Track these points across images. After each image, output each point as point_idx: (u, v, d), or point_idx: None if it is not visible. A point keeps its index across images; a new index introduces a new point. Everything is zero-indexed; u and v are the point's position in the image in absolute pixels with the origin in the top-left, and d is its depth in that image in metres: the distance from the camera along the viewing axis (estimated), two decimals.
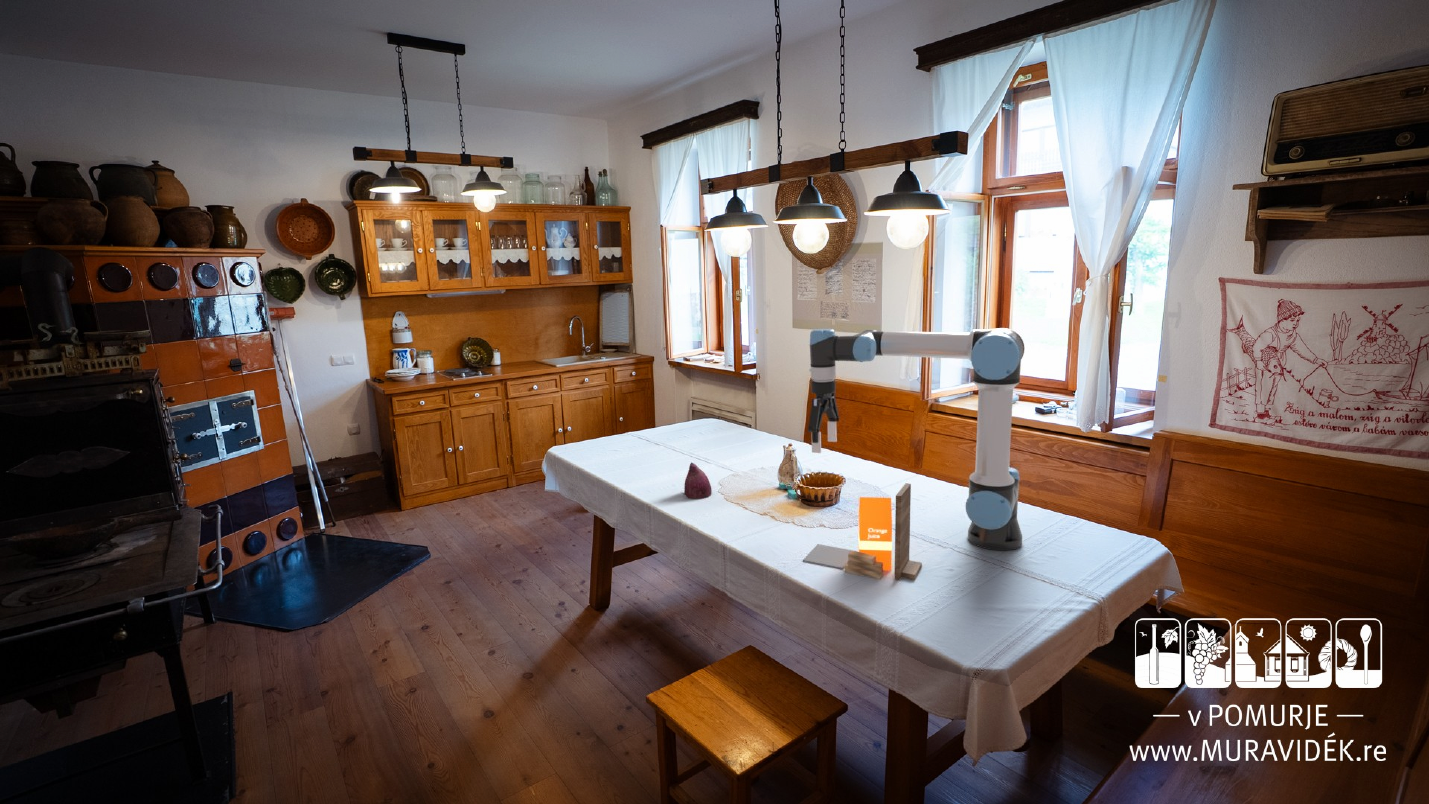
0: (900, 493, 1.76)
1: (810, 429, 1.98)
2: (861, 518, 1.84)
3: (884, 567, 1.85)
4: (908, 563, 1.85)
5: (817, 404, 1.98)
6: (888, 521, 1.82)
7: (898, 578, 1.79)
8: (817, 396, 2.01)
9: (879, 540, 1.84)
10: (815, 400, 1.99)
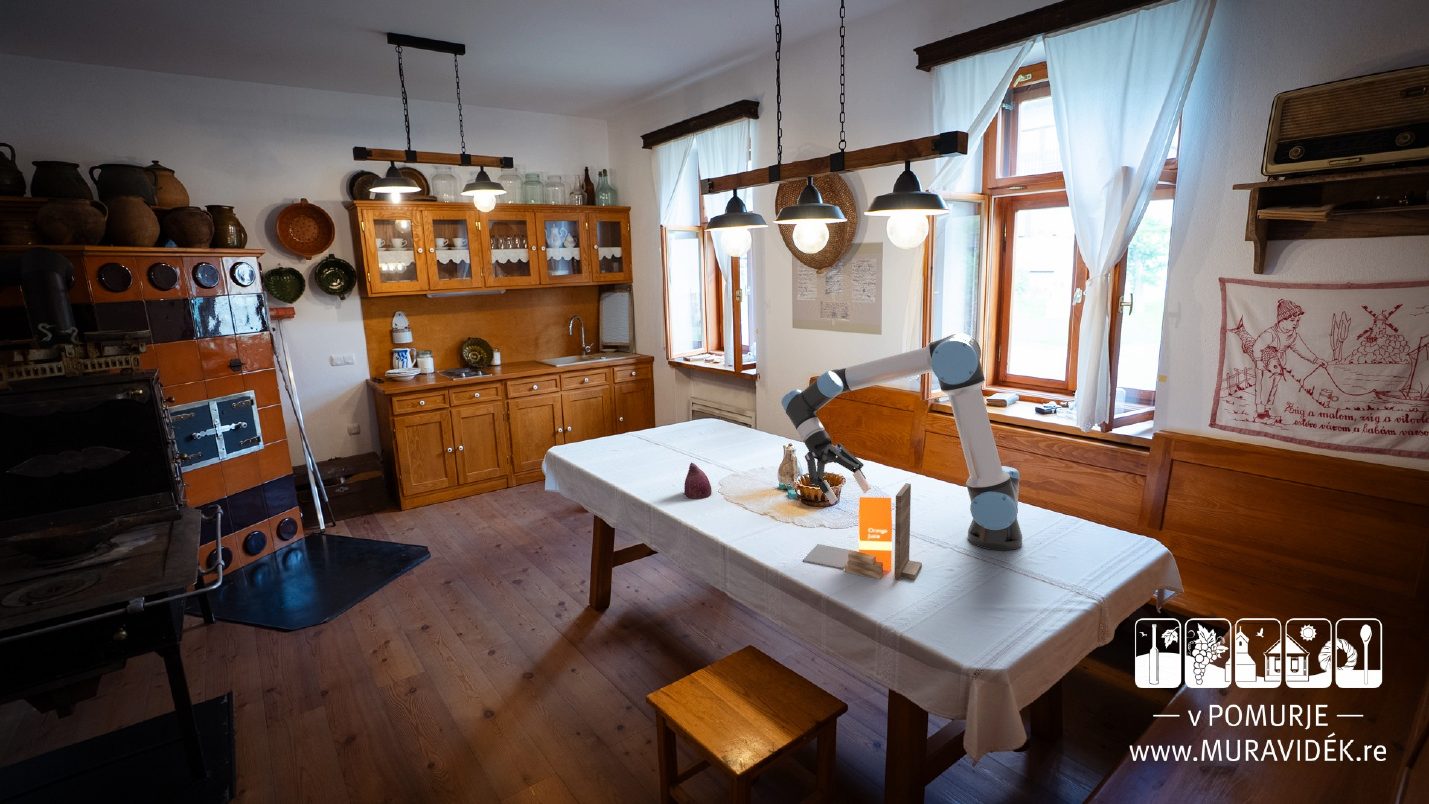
0: (900, 493, 1.76)
1: (811, 481, 1.90)
2: (861, 518, 1.84)
3: (884, 567, 1.85)
4: (908, 563, 1.85)
5: (809, 456, 1.94)
6: (888, 521, 1.82)
7: (898, 578, 1.79)
8: (812, 451, 1.97)
9: (879, 540, 1.84)
10: (806, 454, 1.95)
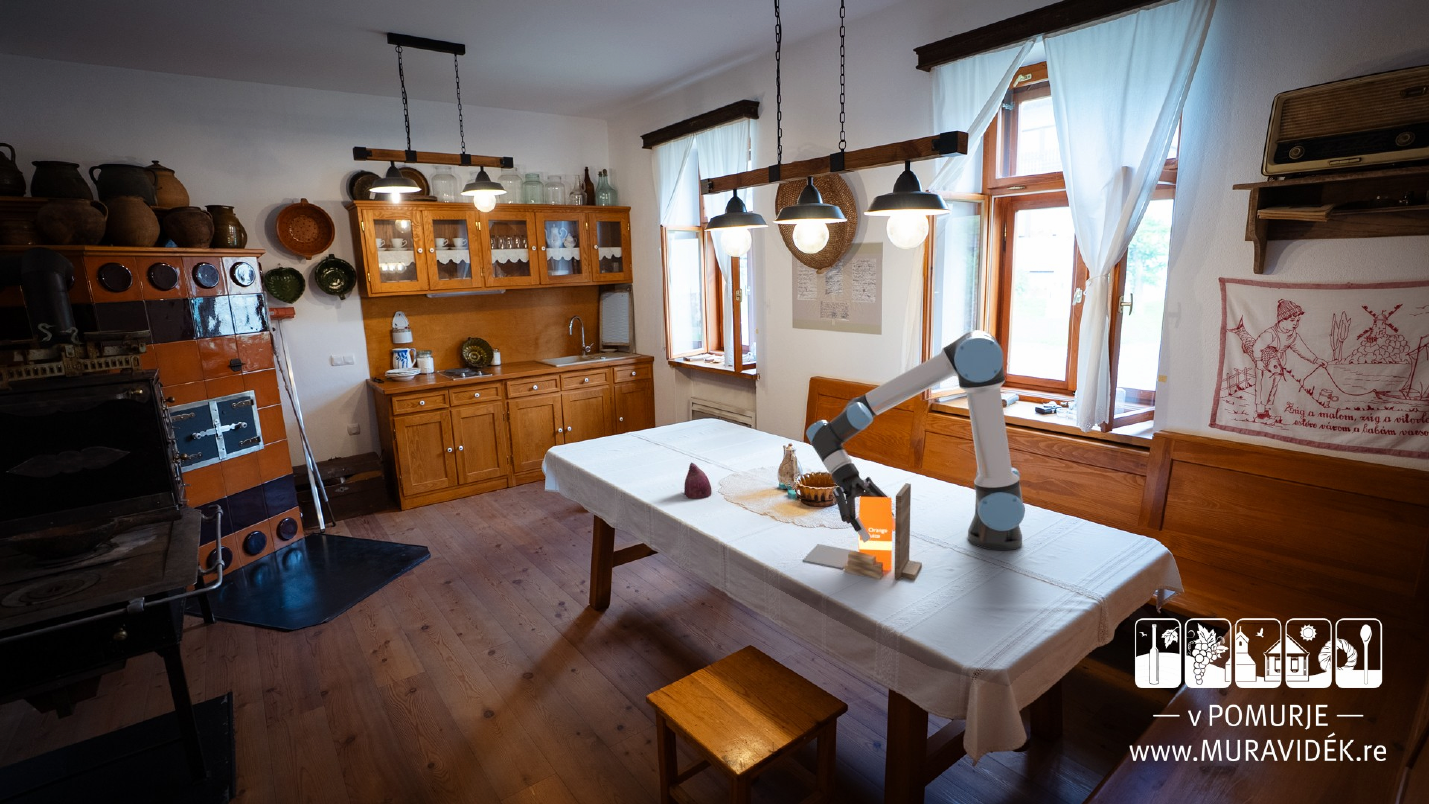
0: (900, 493, 1.76)
1: (843, 519, 1.83)
2: (861, 518, 1.84)
3: (884, 567, 1.85)
4: (908, 563, 1.85)
5: (838, 492, 1.87)
6: (888, 520, 1.82)
7: (898, 578, 1.79)
8: (839, 485, 1.90)
9: (879, 540, 1.84)
10: (834, 490, 1.88)
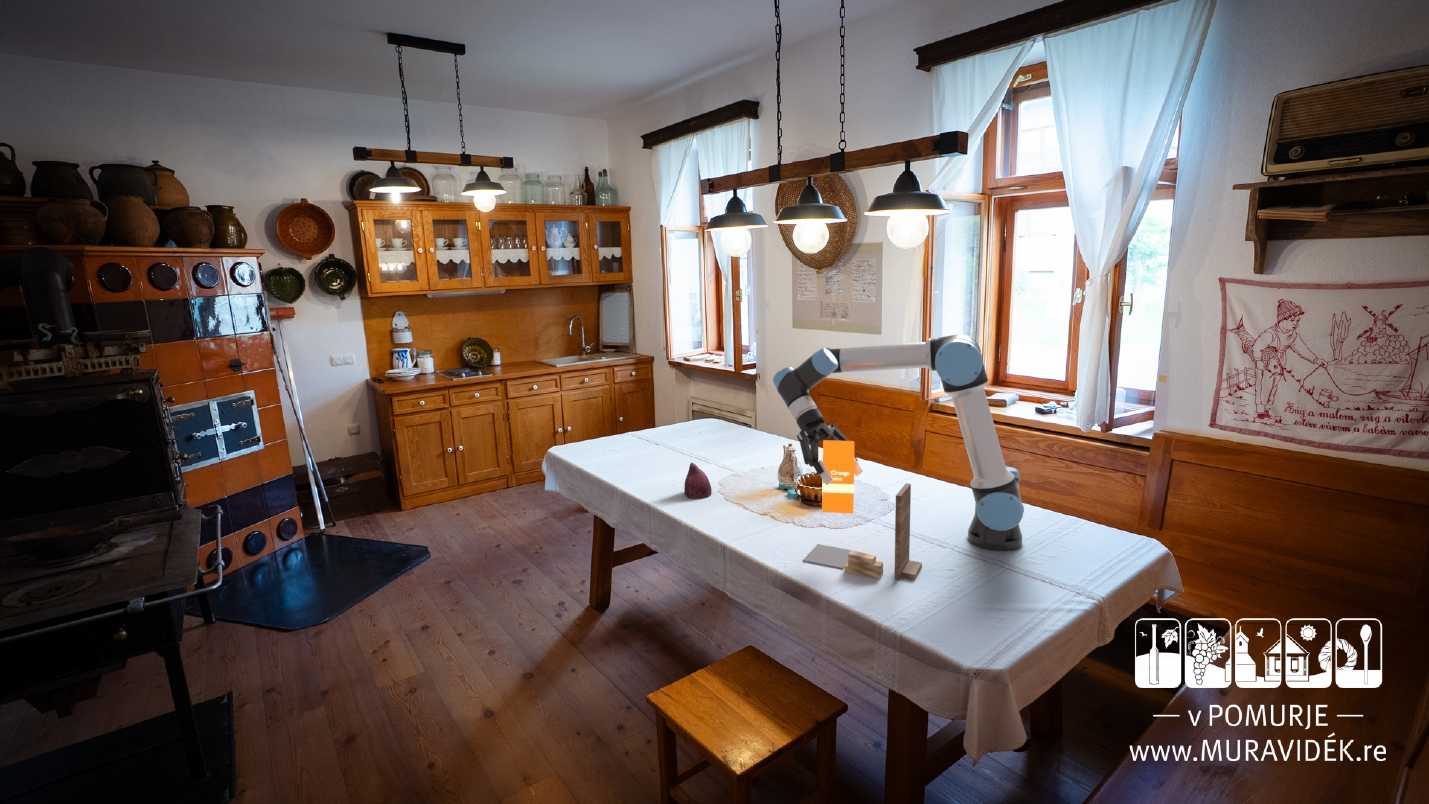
0: (900, 493, 1.76)
1: (806, 461, 1.84)
2: (824, 460, 1.85)
3: (846, 510, 1.86)
4: (908, 563, 1.85)
5: (801, 436, 1.88)
6: (850, 463, 1.83)
7: (898, 578, 1.79)
8: (803, 430, 1.91)
9: (841, 483, 1.85)
10: (798, 434, 1.89)
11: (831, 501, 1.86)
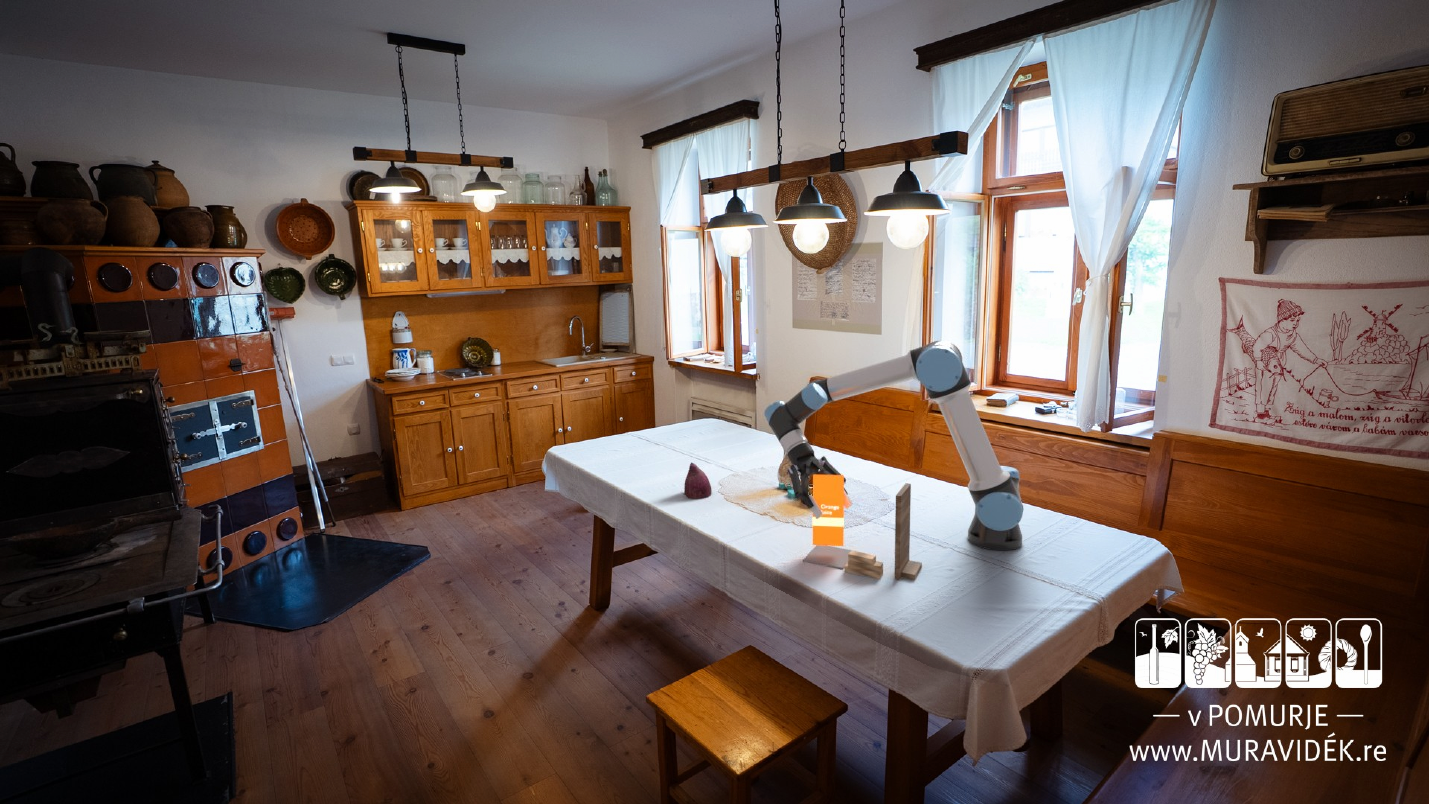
0: (900, 493, 1.76)
1: (796, 496, 1.88)
2: (814, 495, 1.88)
3: (836, 543, 1.90)
4: (908, 563, 1.85)
5: (792, 470, 1.92)
6: (840, 497, 1.87)
7: (898, 578, 1.79)
8: (794, 464, 1.95)
9: (831, 516, 1.88)
10: (789, 468, 1.93)
11: (821, 534, 1.90)
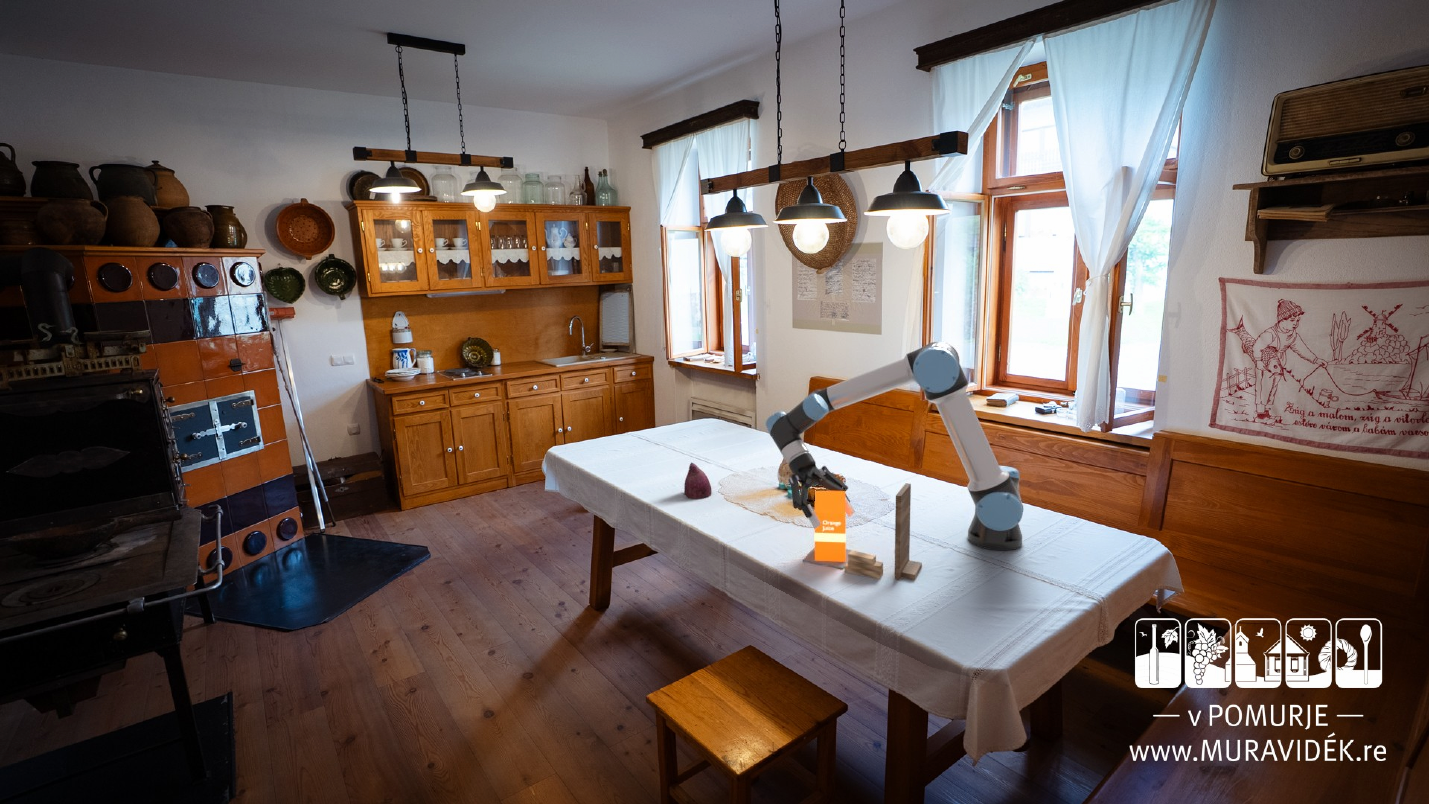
0: (900, 493, 1.76)
1: (794, 505, 1.88)
2: (816, 511, 1.89)
3: (838, 558, 1.90)
4: (908, 563, 1.85)
5: (792, 480, 1.92)
6: (841, 513, 1.88)
7: (898, 578, 1.79)
8: (796, 474, 1.96)
9: (833, 532, 1.89)
10: (790, 478, 1.93)
11: (823, 550, 1.91)
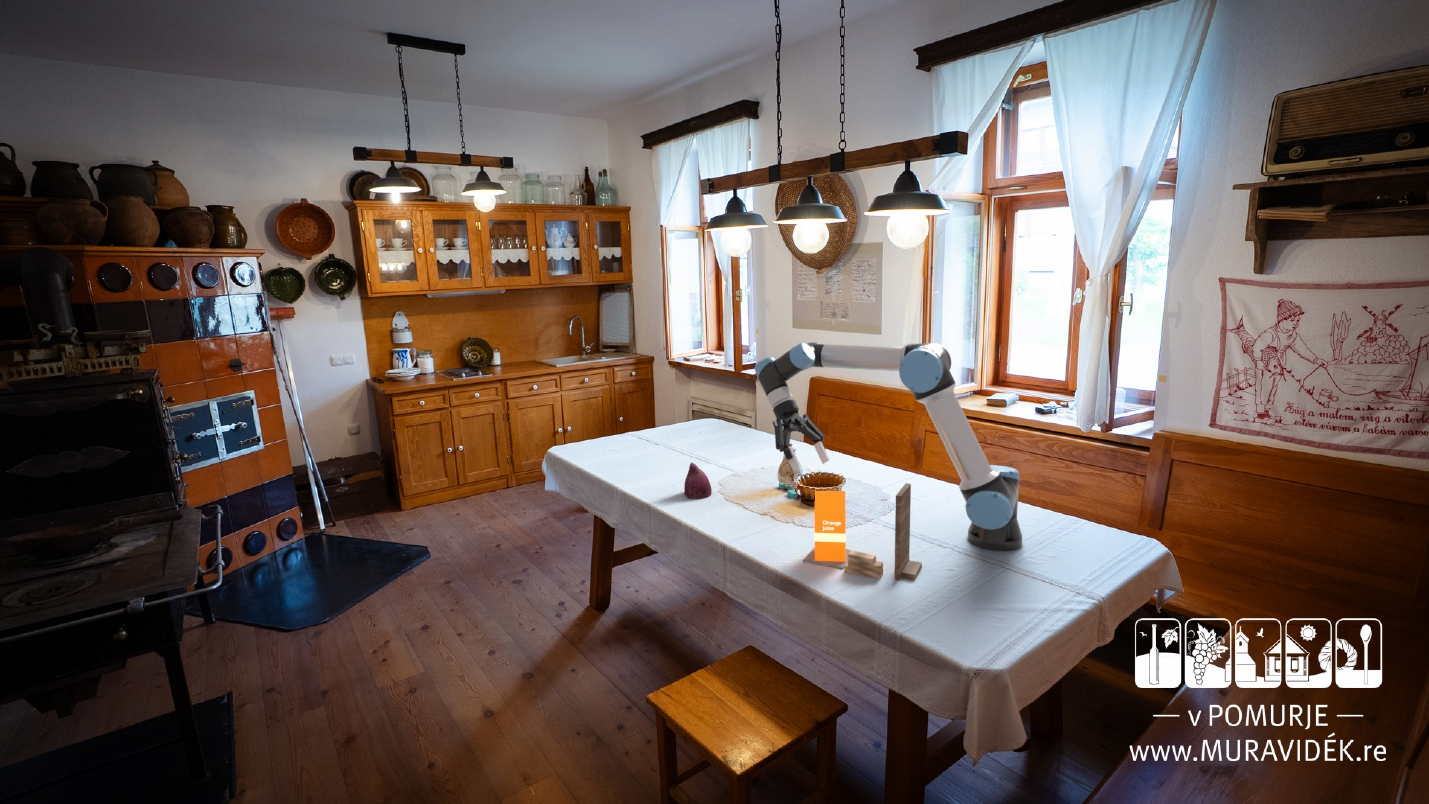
0: (900, 493, 1.76)
1: (777, 446, 1.98)
2: (816, 511, 1.89)
3: (838, 558, 1.90)
4: (908, 563, 1.85)
5: (777, 423, 2.01)
6: (841, 513, 1.88)
7: (898, 578, 1.79)
8: (779, 418, 2.05)
9: (833, 532, 1.89)
10: (775, 420, 2.02)
11: (823, 550, 1.91)
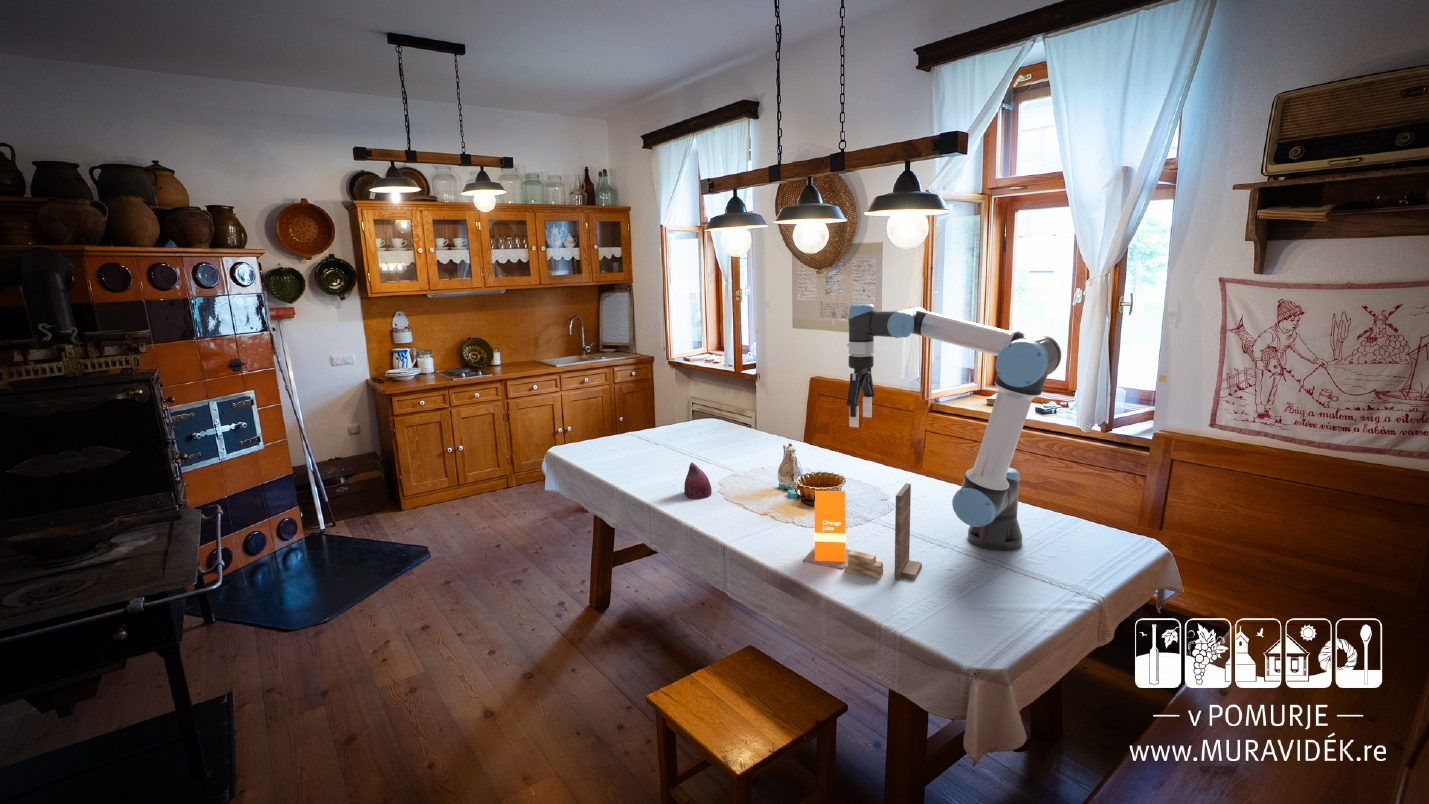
0: (900, 493, 1.76)
1: (849, 403, 1.99)
2: (816, 511, 1.89)
3: (838, 558, 1.90)
4: (908, 563, 1.85)
5: (856, 378, 2.00)
6: (841, 513, 1.88)
7: (898, 578, 1.79)
8: (855, 371, 2.02)
9: (833, 532, 1.89)
10: (854, 374, 2.00)
11: (823, 550, 1.91)
